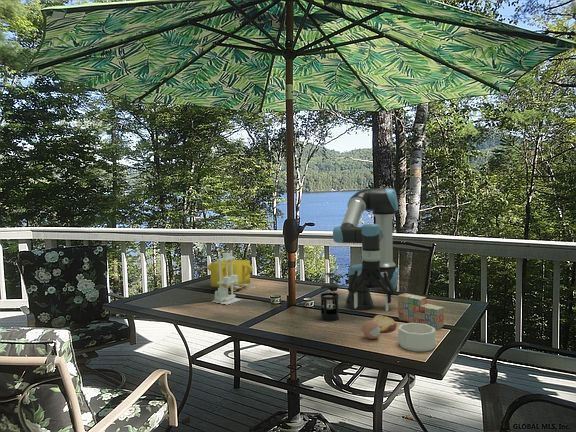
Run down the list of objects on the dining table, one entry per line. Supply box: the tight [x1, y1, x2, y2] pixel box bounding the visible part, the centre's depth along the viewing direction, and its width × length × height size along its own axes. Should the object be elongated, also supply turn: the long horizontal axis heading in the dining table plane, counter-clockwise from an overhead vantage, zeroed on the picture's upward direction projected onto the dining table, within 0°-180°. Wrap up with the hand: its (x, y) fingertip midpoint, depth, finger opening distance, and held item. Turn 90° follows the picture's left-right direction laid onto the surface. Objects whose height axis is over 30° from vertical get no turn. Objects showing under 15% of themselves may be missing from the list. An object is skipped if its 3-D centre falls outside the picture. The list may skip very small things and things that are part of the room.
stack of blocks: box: [397, 292, 445, 330], centre depth 202 cm, size 21×6×12 cm, turn 38°
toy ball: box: [361, 319, 381, 340], centre depth 182 cm, size 8×8×8 cm
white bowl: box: [397, 322, 436, 353], centre depth 173 cm, size 14×14×7 cm
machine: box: [211, 249, 256, 306], centre depth 242 cm, size 29×12×30 cm, turn 55°
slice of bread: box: [372, 314, 398, 334], centre depth 199 cm, size 18×18×4 cm
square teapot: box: [206, 258, 253, 290], centre depth 282 cm, size 35×30×21 cm
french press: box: [320, 272, 340, 322], centre depth 211 cm, size 12×9×23 cm
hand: (371, 309), depth 181 cm, fingers open, 13 cm apart
